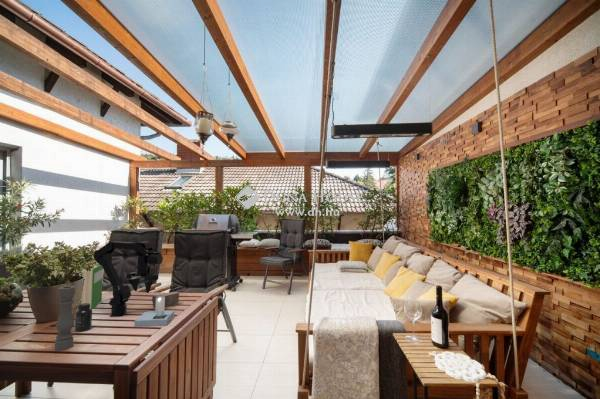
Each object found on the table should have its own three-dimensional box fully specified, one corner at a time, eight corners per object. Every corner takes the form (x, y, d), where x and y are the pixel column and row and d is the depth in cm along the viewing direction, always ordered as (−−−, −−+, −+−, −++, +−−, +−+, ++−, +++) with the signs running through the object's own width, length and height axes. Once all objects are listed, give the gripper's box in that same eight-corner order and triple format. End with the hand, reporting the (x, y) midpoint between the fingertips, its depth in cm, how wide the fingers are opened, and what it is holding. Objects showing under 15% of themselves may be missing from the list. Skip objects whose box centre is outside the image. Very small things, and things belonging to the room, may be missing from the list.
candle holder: (61, 344, 128) (64, 285, 130) (76, 344, 129) (79, 285, 130) (50, 351, 122) (53, 289, 124) (66, 350, 123) (69, 289, 124)
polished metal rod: (155, 325, 152) (156, 299, 153) (154, 322, 156) (154, 297, 156) (165, 323, 155) (165, 297, 155) (163, 320, 158) (163, 295, 159)
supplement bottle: (94, 327, 148) (95, 303, 148) (80, 332, 141) (82, 307, 142) (85, 326, 150) (86, 301, 151) (70, 330, 144) (72, 305, 144)
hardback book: (92, 309, 177) (94, 268, 178) (78, 310, 174) (80, 269, 176) (101, 301, 193) (103, 264, 195) (88, 302, 191) (89, 264, 192)
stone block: (157, 310, 175) (157, 297, 176) (151, 307, 182) (152, 294, 182) (180, 305, 185) (181, 293, 186) (174, 302, 192) (175, 290, 192)
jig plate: (134, 326, 149) (134, 320, 149) (145, 316, 164) (146, 311, 164) (165, 325, 151) (166, 319, 151) (174, 315, 166) (174, 310, 166)
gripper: (166, 262, 172) (165, 290, 171) (143, 260, 179) (142, 287, 178) (150, 265, 161) (149, 295, 160) (126, 263, 169) (125, 291, 168)
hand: (141, 292), depth 167 cm, fingers open, 9 cm apart
